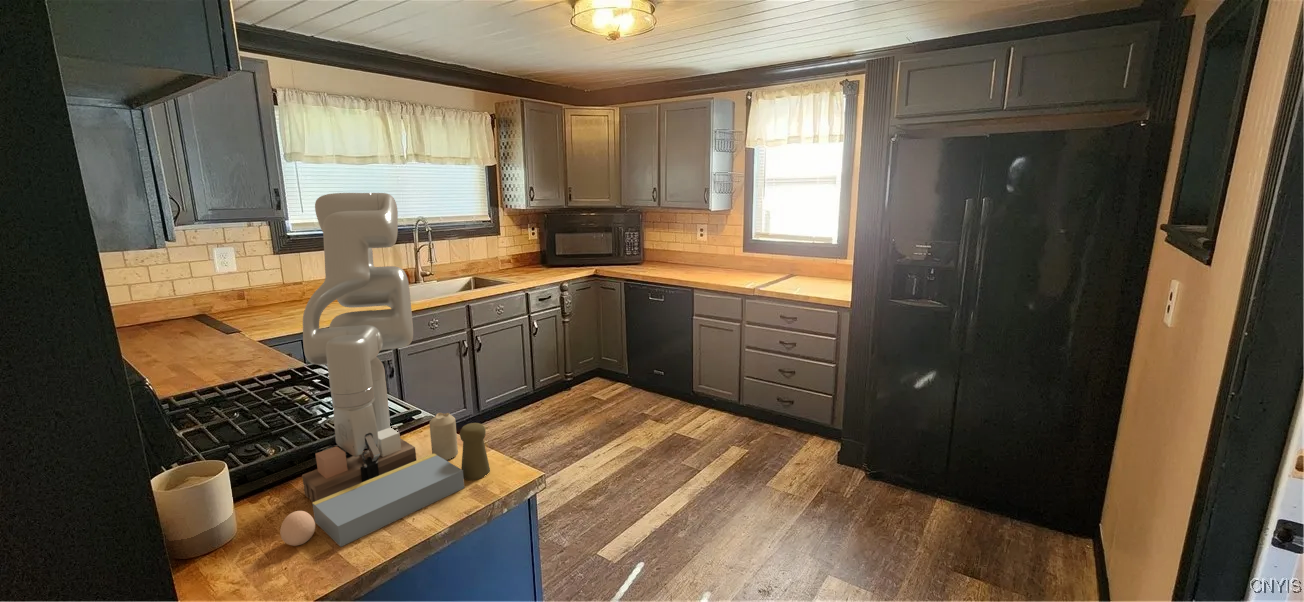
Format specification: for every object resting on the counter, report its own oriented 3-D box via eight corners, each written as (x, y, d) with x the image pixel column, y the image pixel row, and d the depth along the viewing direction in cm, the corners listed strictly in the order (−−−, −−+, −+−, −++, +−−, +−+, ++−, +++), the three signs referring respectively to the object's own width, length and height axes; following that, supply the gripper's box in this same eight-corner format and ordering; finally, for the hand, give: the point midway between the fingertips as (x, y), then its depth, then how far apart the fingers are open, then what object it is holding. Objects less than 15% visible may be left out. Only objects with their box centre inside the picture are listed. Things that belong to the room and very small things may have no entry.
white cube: (373, 450, 119) (371, 433, 118) (392, 443, 122) (390, 427, 121) (382, 456, 116) (380, 439, 115) (401, 449, 119) (399, 432, 118)
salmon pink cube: (317, 471, 110) (315, 453, 109) (339, 463, 113) (336, 446, 112) (326, 478, 108) (323, 460, 107) (347, 470, 111) (345, 452, 110)
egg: (310, 530, 100) (306, 500, 98) (321, 541, 96) (317, 511, 95) (278, 544, 96) (273, 513, 94) (289, 556, 93) (283, 525, 91)
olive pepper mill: (472, 483, 115) (468, 434, 113) (455, 473, 119) (451, 426, 116) (496, 471, 120) (493, 424, 117) (479, 462, 123) (475, 417, 121)
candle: (428, 455, 126) (424, 414, 124) (450, 447, 130) (447, 407, 128) (439, 463, 123) (435, 422, 121) (462, 455, 127) (459, 414, 124)
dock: (315, 522, 102) (312, 502, 101) (435, 470, 120) (434, 453, 119) (340, 546, 95) (337, 526, 94) (464, 487, 113) (462, 470, 112)
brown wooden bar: (304, 495, 110) (301, 474, 109) (402, 456, 125) (400, 438, 124) (318, 507, 106) (315, 486, 105) (417, 465, 121) (415, 447, 120)
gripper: (315, 390, 114) (326, 469, 118) (352, 414, 103) (363, 499, 107) (353, 380, 120) (362, 455, 124) (392, 401, 109) (401, 482, 113)
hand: (362, 475), depth 115 cm, fingers closed on brown wooden bar, 6 cm apart
